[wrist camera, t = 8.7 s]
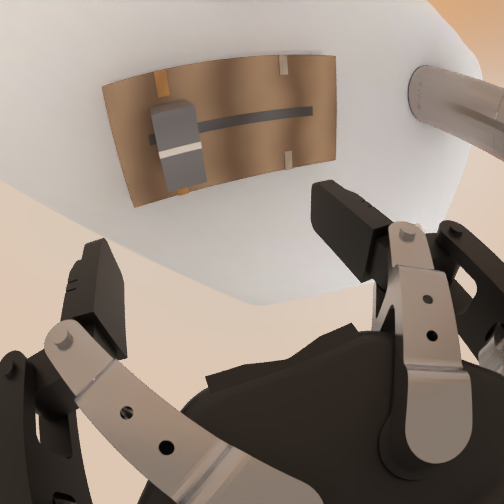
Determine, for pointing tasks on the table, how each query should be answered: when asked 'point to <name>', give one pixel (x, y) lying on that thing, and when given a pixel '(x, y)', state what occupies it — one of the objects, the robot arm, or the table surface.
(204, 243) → the table surface
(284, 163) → the fader base
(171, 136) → the fader cap
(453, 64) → the table surface
